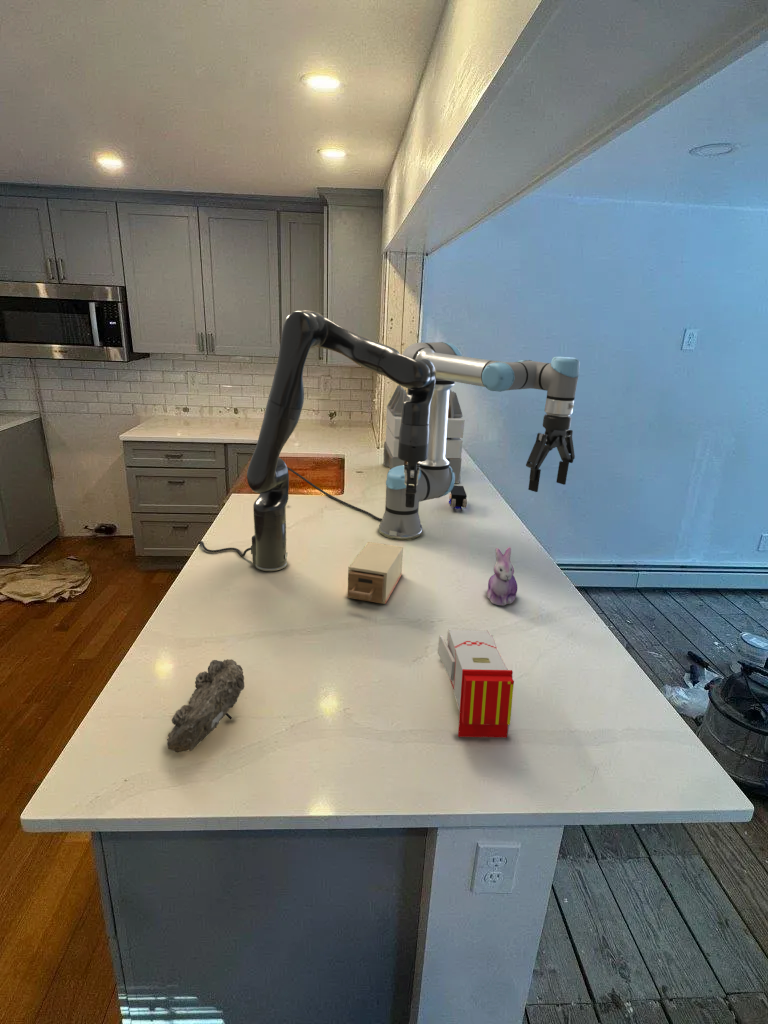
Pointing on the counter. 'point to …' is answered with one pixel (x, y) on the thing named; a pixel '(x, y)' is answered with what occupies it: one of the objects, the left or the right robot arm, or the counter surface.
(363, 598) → the drawer
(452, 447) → the grey slatted crate
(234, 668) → the fossil
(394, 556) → the cabinet
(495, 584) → the figurine
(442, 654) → the toy
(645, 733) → the counter surface
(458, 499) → the figurine character
